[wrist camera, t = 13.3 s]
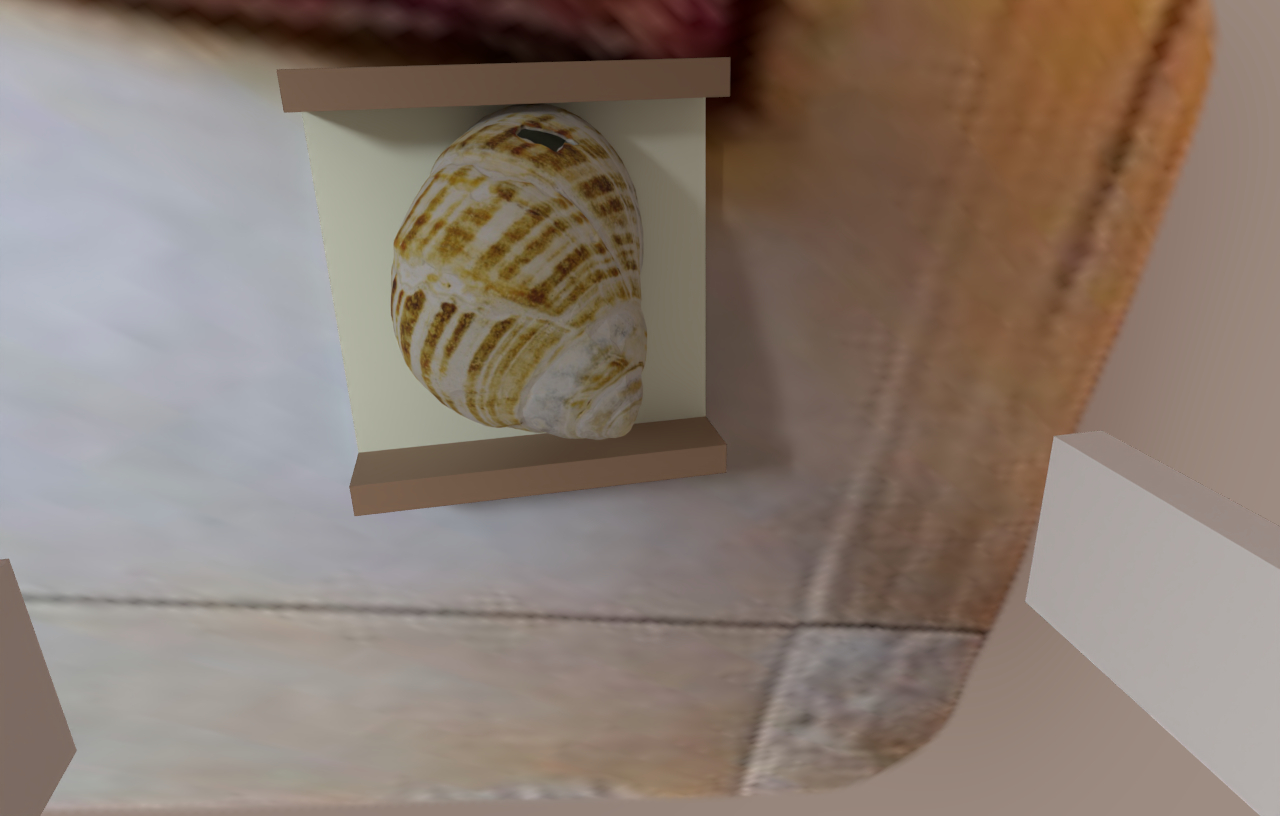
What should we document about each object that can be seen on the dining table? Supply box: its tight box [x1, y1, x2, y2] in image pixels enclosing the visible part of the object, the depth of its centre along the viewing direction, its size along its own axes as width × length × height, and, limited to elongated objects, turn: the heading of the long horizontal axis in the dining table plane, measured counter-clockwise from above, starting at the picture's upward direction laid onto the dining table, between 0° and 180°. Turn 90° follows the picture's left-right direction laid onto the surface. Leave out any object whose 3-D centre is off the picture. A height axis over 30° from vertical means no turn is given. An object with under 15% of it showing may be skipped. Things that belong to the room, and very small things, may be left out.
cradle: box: [277, 57, 730, 516], centre depth 30 cm, size 14×15×4 cm
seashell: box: [391, 103, 647, 440], centre depth 28 cm, size 10×10×10 cm
